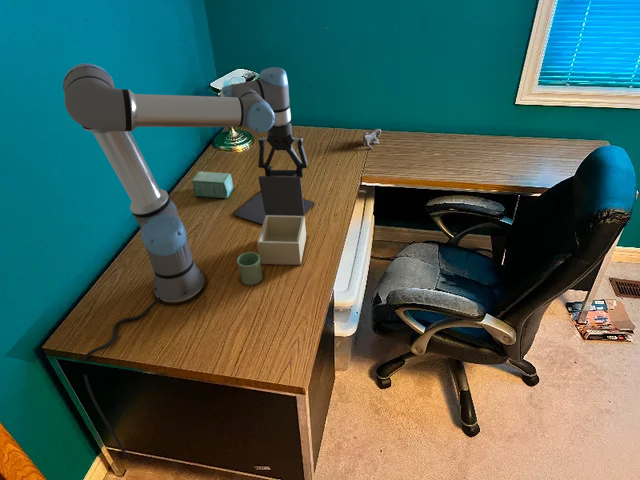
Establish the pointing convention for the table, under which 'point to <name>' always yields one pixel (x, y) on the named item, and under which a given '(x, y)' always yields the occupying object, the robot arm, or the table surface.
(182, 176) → the table surface
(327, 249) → the table surface
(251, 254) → the green cup
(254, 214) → the mouse pad
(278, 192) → the bin lid
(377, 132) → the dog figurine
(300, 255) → the open square bin
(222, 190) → the box
